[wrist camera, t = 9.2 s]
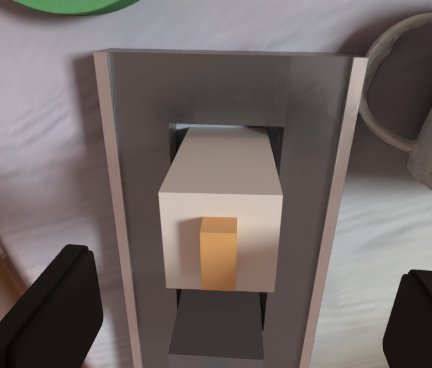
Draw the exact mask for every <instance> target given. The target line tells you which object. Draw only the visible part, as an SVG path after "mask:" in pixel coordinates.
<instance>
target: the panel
mask: <svg viewBox="0 0 432 368" xmlns="http://www.w3.org/2000/svg"><path fill="white" fill-rule="evenodd" d="M93 56H94V64H95V72H96V79H97V87H98V95H99V102H100V110H101V118H102V126H103V133H104V141H105V149H106V157H107V164H108V172H109V180H110V187H111V195H112V203H113V211H114V218H115V226H116V234H117V242H118V249H119V257H120V265H121V272H122V280H123V288H124V296H125V303H126V311H127V319H128V327H129V334H130V342H131V350H132V358H133V365H134V368H169V360H168V352H169V347H170V343H171V338H172V333H173V329H174V324H175V320H176V315H177V310H178V306H179V301H180V296H181V292H182V289H177V288H166V277H165V265H164V253H163V241H162V229H161V217H160V205H159V193H158V192H159V190H160V188H161V186H162V184H163V182H164V180H165V177H166V175H167V173H168V171H169V169H170V167H171V165H172V163H173V161H174V158H175V156H176V154H177V137H176V123H184V124H215V125H247V126H278V127H279V133H278V144H277V154H276V169H277V173H278V177H279V181H280V185H281V189H282V193H283V201H282V212H281V224H280V235H279V246H278V257H277V269H276V280H275V291H274V292H263V300H262V308H261V322H262V336H263V350H264V367H263V368H309V363H310V358H311V353H312V348H313V343H314V337H315V332H316V327H317V322H318V317H319V311H320V306H321V301H322V296H323V291H324V286H325V280H326V275H327V270H328V265H329V260H330V254H331V249H332V244H333V239H334V234H335V228H336V223H337V218H338V213H339V208H340V202H341V197H342V192H343V187H344V182H345V176H346V171H347V166H348V161H349V156H350V151H351V145H352V140H353V135H354V130H355V125H356V119H357V114H358V109H359V104H360V99H361V93H362V88H363V83H364V78H365V73H366V67H367V62H368V58H367V57H363V56H360V55H356V54H353V53H309V52H261V51H213V50H166V49H118V48H110V49H105V50H100V51H96V52H93Z"/></svg>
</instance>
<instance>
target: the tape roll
mask: <svg viewBox="0 0 432 368" xmlns="http://www.w3.org/2000/svg"><path fill="white" fill-rule="evenodd" d="M13 1H15V2H17V3H19V4H22V5H24V6H27V7H30V8H33V9H35V10H39V11H43V12H49V13H55V14H64V15H98V14H106V13H110V12H114V11H118V10H120V9H123V8H125V7H128V6H130V5H132V4H134V3H136V2H137V1H139V0H13Z"/></svg>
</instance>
